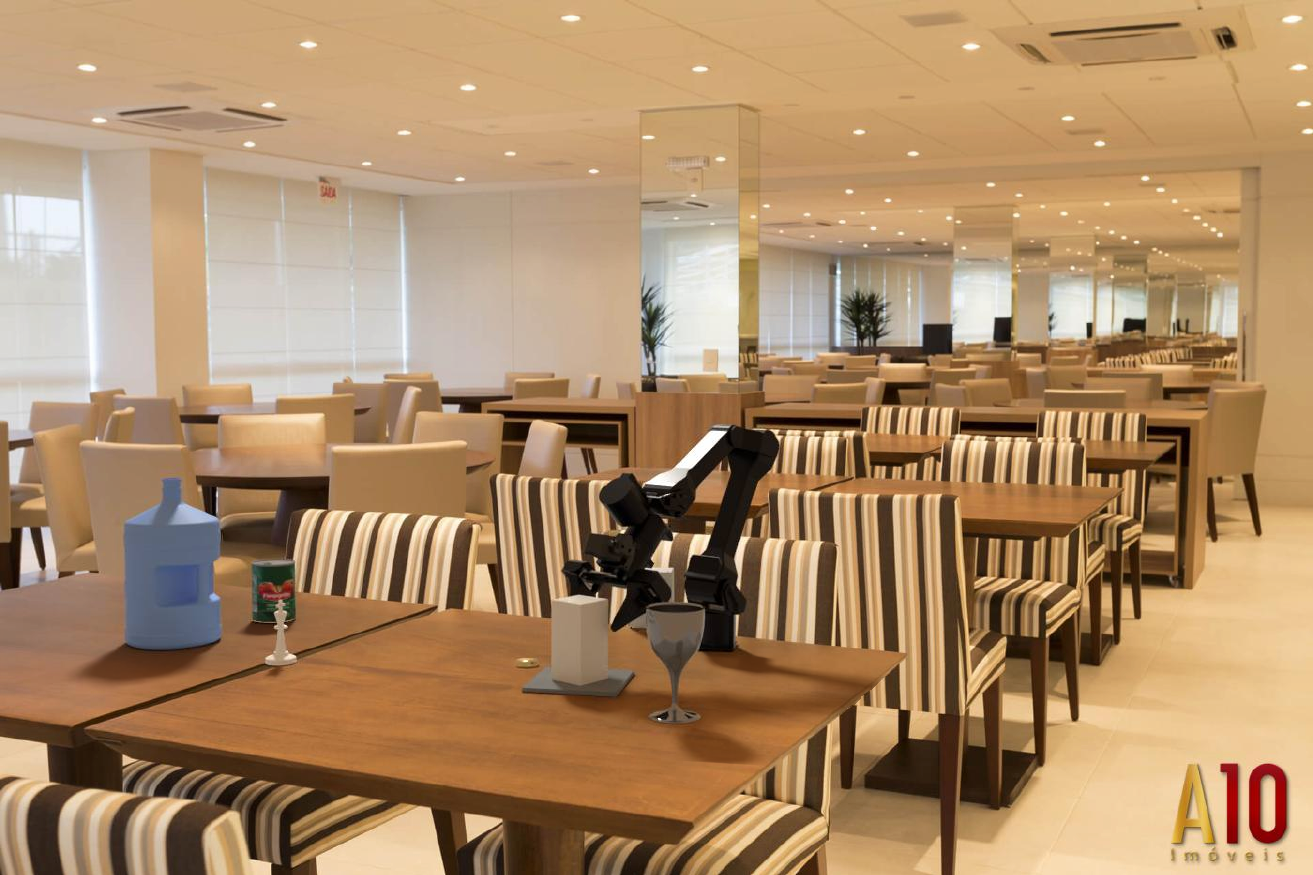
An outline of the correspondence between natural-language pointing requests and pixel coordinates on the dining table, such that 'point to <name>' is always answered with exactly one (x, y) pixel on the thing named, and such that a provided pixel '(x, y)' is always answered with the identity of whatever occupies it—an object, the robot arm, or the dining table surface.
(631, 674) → the slate mat
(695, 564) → the robot arm
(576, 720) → the dining table surface
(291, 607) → the canned tomato
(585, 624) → the white rectangular block
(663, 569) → the small box
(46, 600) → the dining table surface
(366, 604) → the dining table surface
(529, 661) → the brass button
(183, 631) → the water jug
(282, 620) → the chess piece
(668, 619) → the wine glass
